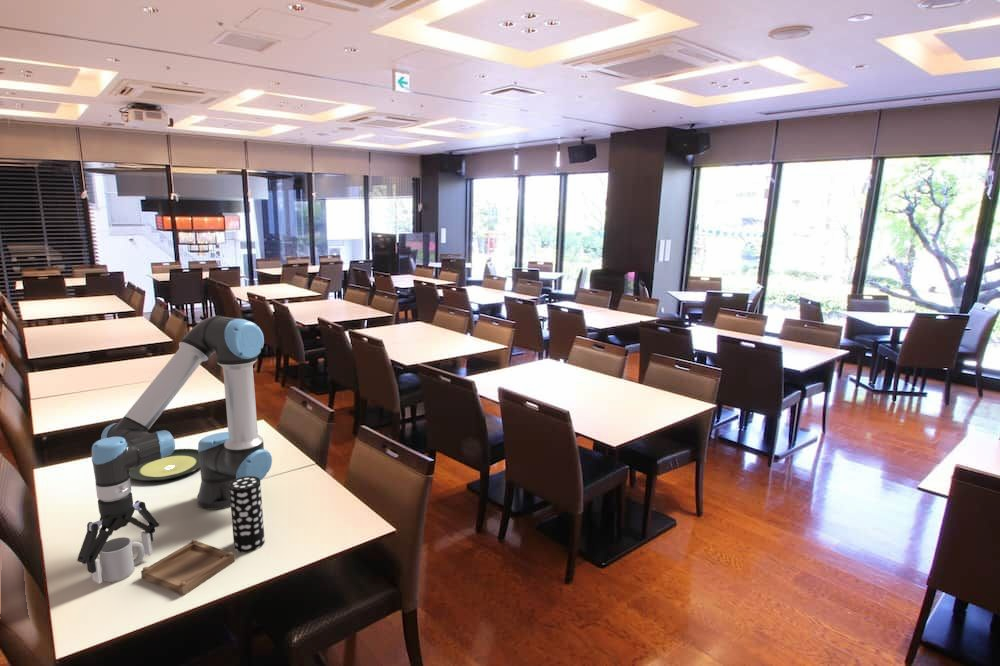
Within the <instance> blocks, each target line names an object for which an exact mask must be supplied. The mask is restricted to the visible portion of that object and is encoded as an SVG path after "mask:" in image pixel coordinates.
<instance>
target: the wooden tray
mask: <svg viewBox="0 0 1000 666" xmlns="http://www.w3.org/2000/svg"><path fill="white" fill-rule="evenodd" d="M235 561H236V560H235V554H234V553H233V552H232V551H227V550H224V549H221V548H219V547H215V546H213V545H209V544H206V543H204V542H201V541H197V539H195V538H193V539H191V542H189V543H187V544H186V545H184V546H182V547H180V548H178V549H177V550H175V551H173V552H172V553H170V554H168V555H166V556H164V557H163V558H161V559H160V560H158V561H156V562H154V563H153V564H151V565H149V566H144V567H143V568H142V570H141V571H140V573H141V579H142V580H144V581H146V582H149V583H150V584H154V585H156V586H159V587H161V588H162V589H163V588H164V589H166V590H168V591H170V592H173V593H176V594H178V595H180V596H186V595H187V594H189V593H190V592H191V591H193V590H195V589H196V588H198V587H199V586H200V585H202V584H203V583H205V582H207V581H208V580H209V579H210V578H212V577H214V576H216V575H217V574H219V573H220V572H221V571H223V570H225V569H226V568H228V567H229V566H231V565H232V564H233V563H235Z"/></svg>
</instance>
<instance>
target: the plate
mask: <svg viewBox="0 0 1000 666" xmlns="http://www.w3.org/2000/svg"><path fill="white" fill-rule="evenodd" d="M168 465H175V467H174V468H173V469H170V468H169V469H170V470H166V469H164V468H165V467H166V466H168ZM199 469H200V461H199V452H198V449H196V448H195V449H194V448H177V449H176V448H175V450H174V452H173V453H172V454H171V455H168V456H166V457H164V458H162V459H159V460H156V461H153V462H150V463H147V464H144V465H141V466H138V467H136V468H133V469H130V480H131V479H132V480H135V481H142V482H152V481H153V482H154V481H155V482H156V481H165V480H171V479H176V478H179V477H182V476H185V475H188V474H191V473H193V472H195V471H197V470H199Z"/></svg>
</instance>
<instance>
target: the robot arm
mask: <svg viewBox="0 0 1000 666" xmlns="http://www.w3.org/2000/svg"><path fill="white" fill-rule="evenodd" d="M264 338H265V337H264V333H263V331H262V329H261V328H260V326H258V325H257V323H255V322H252V321H250V320H247V319H245V318H236V317H228V316H223V315H214V316H213V315H212V316H209V317H207V318H205V319H203V320H201V321H200V322H198V323H197V324H196V325H195V326H194V327H192V328H191V329H190V330H189V331H188V332H187V333H186V335H184V337H183V338H182V339H181V340H180V341H179V343H178V350H177V351H176V352H175V353H174V354H173V355H172V357H171V358H170V360H168V362H167V363H166V365H165V366H164V367H163V368H162V369H161V371H160V372H159V373H158V374H157V375H156V377H154V379H153V380H152V382H151V383H150V384H149V385H148V386H147V388H145V390H144V391H143V393H142V394H141V395H140V396H139V397H138V399H137V400H136V401H135V403H134V404H133V405H132V406H131V407H130V408H129V410H128V411H127V412H126V413H125V415H124V416H123V417H122V419H121V420H120V421H119V422H116V423H115V422H114V423H111V424H109V425H107V426H106V427H105V428H104V429H103V431H102V433H101V436H100V439H99V440H96V441H95V442H94V443H92V446H91V463H92V467H93V473H94V474H93V475H94V480H95V492H96V498H97V499H98V500H97V507H98V512H99V515H100V516H99V520H97V521H94V522H92V521H89V522H88V523H87V524H86V527H87V528H86V532H85V533H86V534H85V537H84V539H83V542H82V544H81V547H80V549H79V550H80V551H79V553H78V557H77V558H76V561H77V562H79V563H81V564H84V565H86V568H87V571H88V573H90V574H91V578H92V582H95V583H96V584H101V583H102V582H103V576H102V569H101V562H100V558H98V556H100V555H99V553H100V551H101V550H102V548H103V546H104V544H105V543H106V542H107V541H108V539H109V538H110V536H112V535H113V532H114V531H115V532H116V531H118V530H119V529H122V528H124V527H126V526H128V524H129V523H130V524H132V525H133V526H136V527H137V528H139V529H141V530H143V531H141V532H140V537H141V544H142V545H143V547H144V555H147V556H152V555H153V549H152V548H153V547H152V542H153V541H154V533H155V532H156V528H158V527H159V526H160V522H159V521H158V520H157V519H156V518H155V517H154V515H152V513H151V512H150V511H149V510H148V509H147V505H146V503H145V502H144V501H141V500H136V501H134V500H133V499H134V498H133V493H132V484H131V478H130V469H133V468H136V467H138V466H141V465H144V464H147V463H150V462H153V461H156V460H159V459H162V458H164V457H166V456H168V455H171V454H172V453H173V452H174V450H175V449H176V441H175V439H174V436H173V435H172V434H171V432H170V431H168V430H165V429H163V430H159V431H157V430H156V431H155V432H151V433H150V432H148V431H149V430H150V429H151V427H152V426H153V424H154V423H155V422H156V421H157V420H158V418H160V416H161V415H162V413H163V412H164V410H166V408H167V407H168V405H169V404H170V403H171V402H172V401H173V399H175V397H176V395H177V394H178V393H179V392H180V390H181V389H182V388H183V387H184V385H185V384H186V382H187V381H189V379H190V377H192V375H193V374H194V372H195V371H196V370H197V369H198V367H199V366H200V365H201V364H202V362H206V361H208V360H209V359H210V357H211V356H213V355H214V354H215V357H216V363H217V365H219V366H220V367H221V368H222V371H223V372H222V373H223V383H224V397H225V406H226V407H225V409H226V420H227V421H226V422H227V431H224V432H218V433H212V434H210V435H206V436H205V437H203V438H201V439H200V440H199V442H198V446H197V450H198V452H199V461H200V468H199V469H200V470H199V471H200V479H201V480H200V486H199V491H198V493H197V497H196V501H197V505H198V507H200V508H202V509H206V510H220V509H222V510H223V509H226V508H229V507H230V508H231V503H230V492H229V484H230V482H232V481H233V480H235V479H237V478H241V477H246V476H255V477H258V478H259V479H260V481H262V480H263V479H264V478H265V477H266V476H267V474H268V473H269V472H270V470H271V468H272V463H273V456H272V454H271V453H270V452H269V451H268V450H267V449H265V447H264V446H265V445H264V438H263V437H262V436H261V435H259V433H258V420H257V419H258V418H257V405H256V392H255V379H254V368H253V367H254V366H253V365H254V364H255V363H256V362H258V355H260V354H261V352H262V351H261V350H262V349H263V348H264V344H265V339H264ZM135 511H137V512H138V513H139V515H141V517H142V518H143V519H144V520H145V521H146V523H148V524H146V523H144V522H142V521H141V520H139V519H137V518H135V517H133V514H134V512H135Z"/></svg>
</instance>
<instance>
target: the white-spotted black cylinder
mask: <svg viewBox="0 0 1000 666" xmlns="http://www.w3.org/2000/svg"><path fill="white" fill-rule="evenodd" d="M261 485H262V484H261V480H260V479H259V478H258V477H255V476H246V477H241V478H237V479H235V480H233V481H232V482H230V484H229V492H230V503H231V506H230V512H231V513H230V514H231V515H230V516H231V525H232V526H231V527H232V537H233V547H234V550H235V551H236V552H239V553H250V552H255V551H257V550H258V549H260V548H262V547H263V545H265V542H266V541H265V540H266V539H265V530H264V529H265V527H264V513H263V500H262V486H261Z"/></svg>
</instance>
